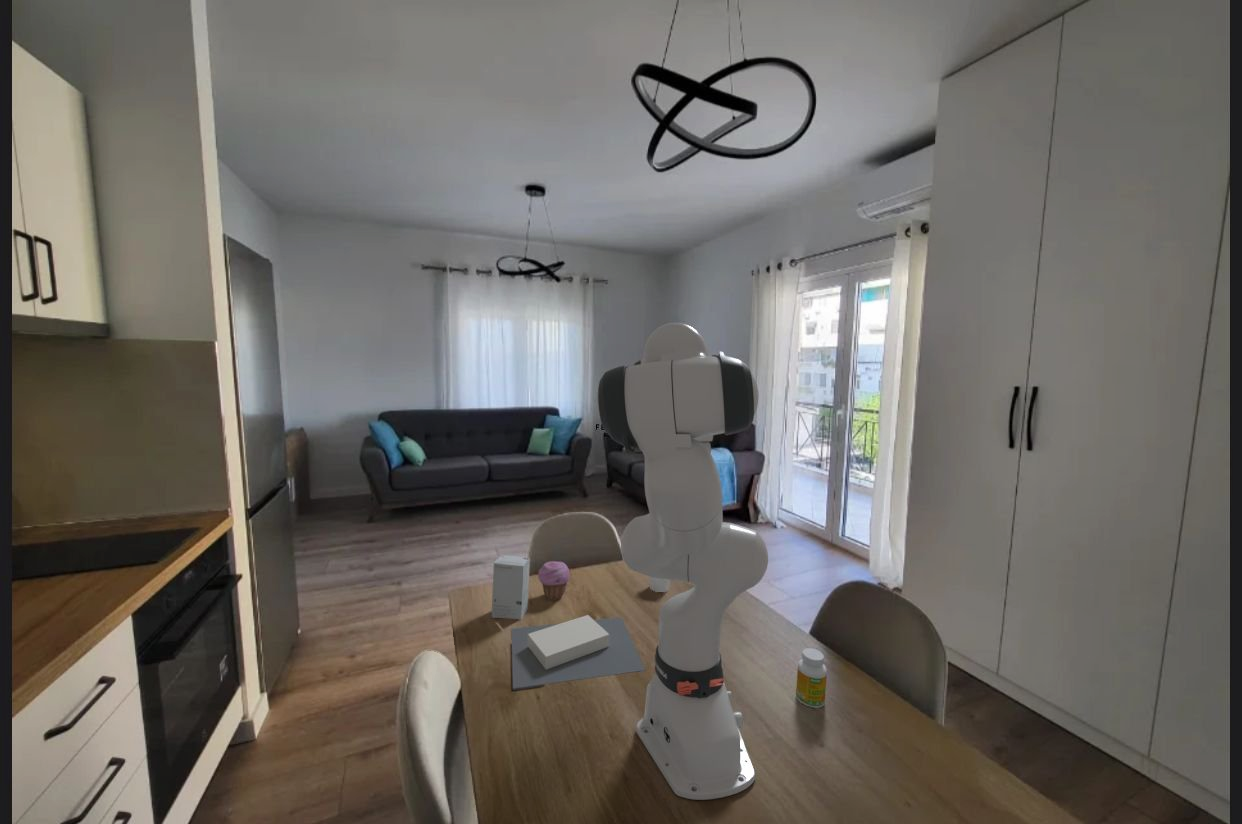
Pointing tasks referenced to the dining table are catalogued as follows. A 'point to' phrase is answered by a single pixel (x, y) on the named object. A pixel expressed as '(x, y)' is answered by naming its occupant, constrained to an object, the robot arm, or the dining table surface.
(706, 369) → the robot arm
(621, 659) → the slate mat
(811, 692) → the supplement bottle
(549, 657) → the plain white box
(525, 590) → the skincare box
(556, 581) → the cupcake
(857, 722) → the dining table surface
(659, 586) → the grey white cylinder
